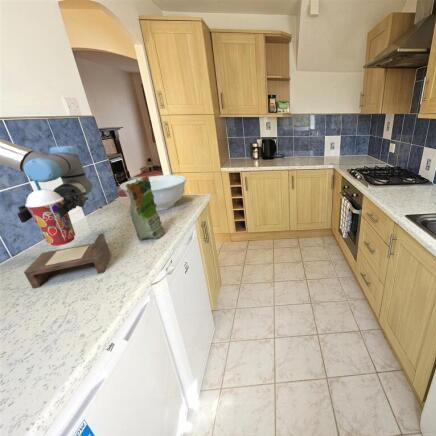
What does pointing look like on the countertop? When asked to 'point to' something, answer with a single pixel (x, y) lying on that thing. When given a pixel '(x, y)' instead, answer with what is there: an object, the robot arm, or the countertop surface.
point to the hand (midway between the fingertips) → (41, 215)
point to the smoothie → (50, 216)
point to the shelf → (68, 260)
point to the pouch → (144, 210)
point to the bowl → (163, 190)
